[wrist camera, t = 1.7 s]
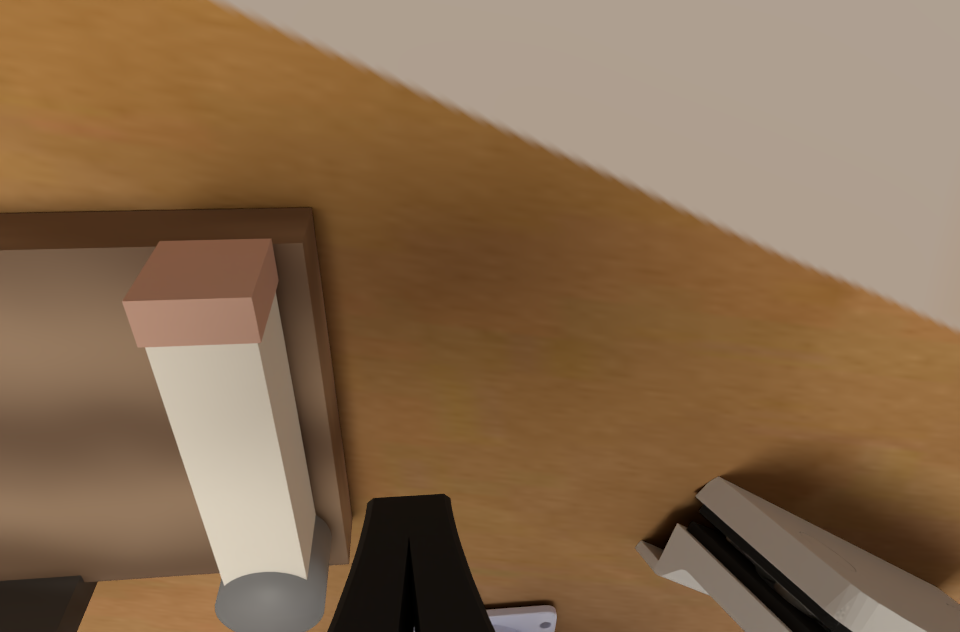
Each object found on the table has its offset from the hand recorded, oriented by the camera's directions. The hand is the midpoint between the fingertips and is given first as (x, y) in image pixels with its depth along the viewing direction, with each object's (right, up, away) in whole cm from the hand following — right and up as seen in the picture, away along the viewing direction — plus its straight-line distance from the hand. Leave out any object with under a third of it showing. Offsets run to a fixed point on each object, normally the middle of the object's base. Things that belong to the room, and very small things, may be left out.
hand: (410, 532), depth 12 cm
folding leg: (-5, 0, +8) cm, 9 cm away
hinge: (+16, -7, +18) cm, 26 cm away
